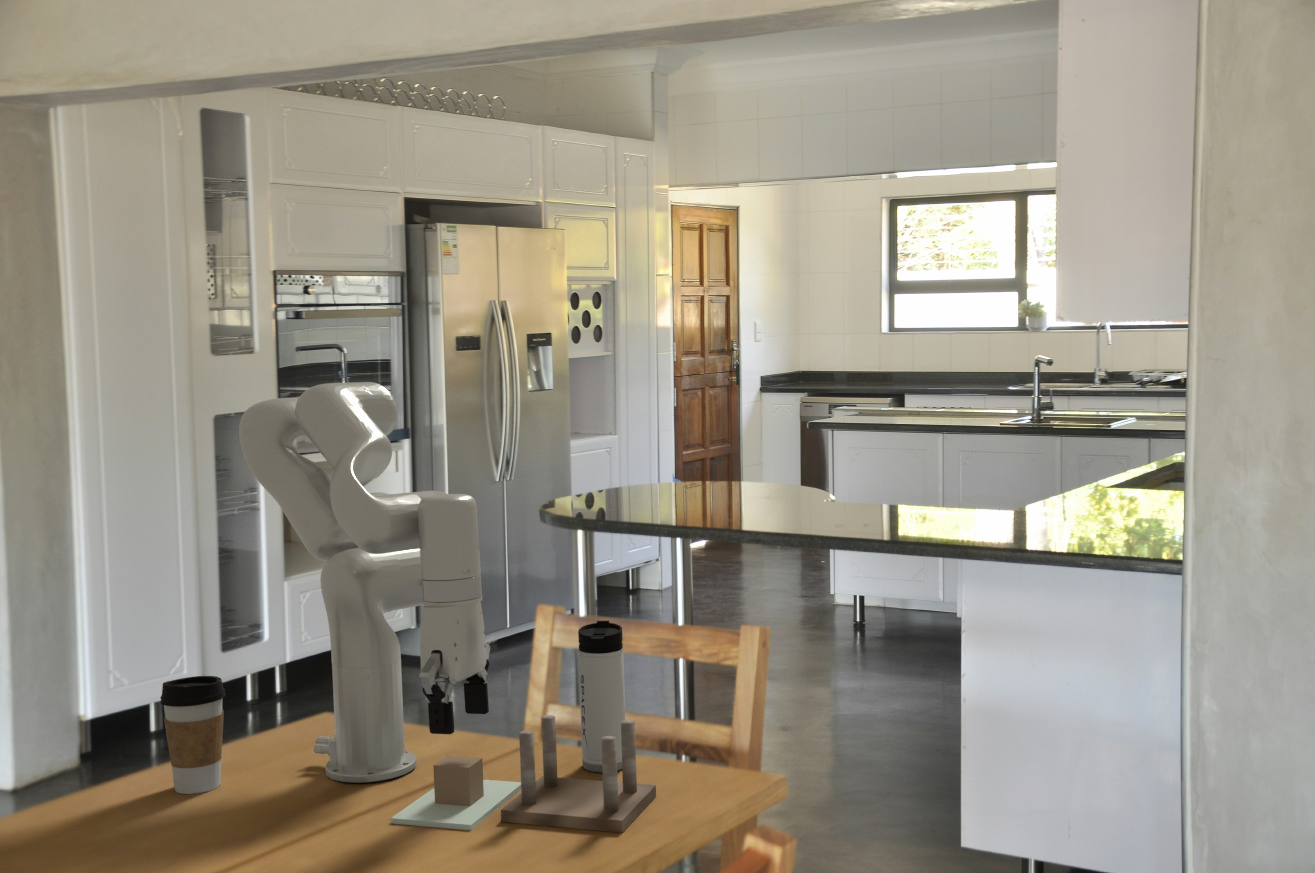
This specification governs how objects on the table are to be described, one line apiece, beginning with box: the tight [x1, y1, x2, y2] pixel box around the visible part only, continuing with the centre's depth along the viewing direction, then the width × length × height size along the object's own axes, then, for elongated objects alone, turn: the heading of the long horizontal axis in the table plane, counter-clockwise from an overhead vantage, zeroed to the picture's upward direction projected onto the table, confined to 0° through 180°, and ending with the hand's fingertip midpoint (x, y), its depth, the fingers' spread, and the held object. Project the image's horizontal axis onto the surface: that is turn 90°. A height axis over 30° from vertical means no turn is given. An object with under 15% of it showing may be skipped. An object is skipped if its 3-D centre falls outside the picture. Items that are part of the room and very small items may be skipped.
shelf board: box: [390, 755, 521, 831], centre depth 161 cm, size 16×11×6 cm
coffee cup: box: [159, 675, 226, 795], centre depth 171 cm, size 8×8×15 cm
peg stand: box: [500, 714, 657, 833], centre depth 158 cm, size 16×13×10 cm
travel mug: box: [577, 620, 626, 774], centre depth 175 cm, size 6×7×20 cm
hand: (460, 722), depth 160 cm, fingers open, 9 cm apart
